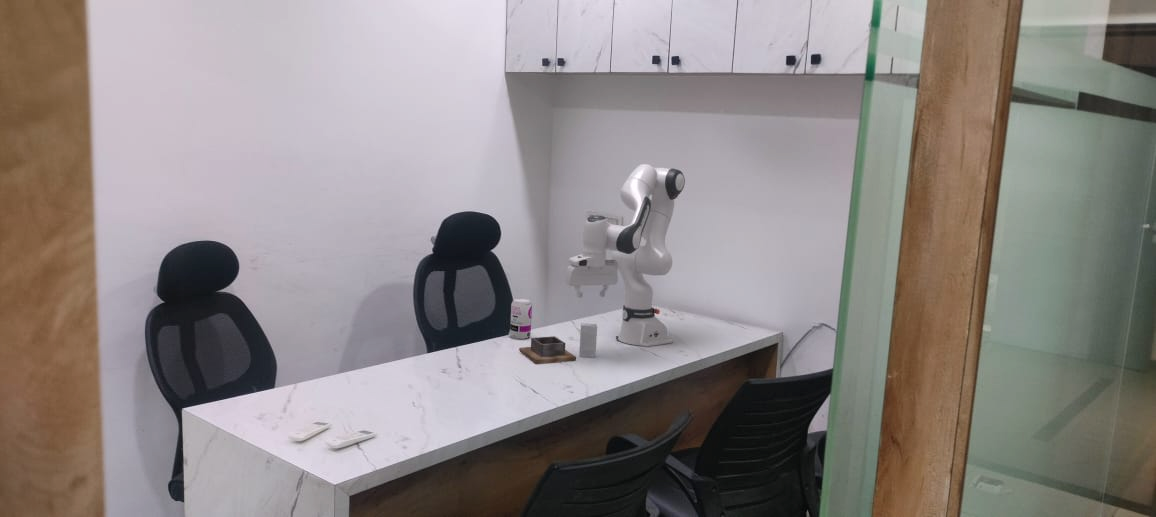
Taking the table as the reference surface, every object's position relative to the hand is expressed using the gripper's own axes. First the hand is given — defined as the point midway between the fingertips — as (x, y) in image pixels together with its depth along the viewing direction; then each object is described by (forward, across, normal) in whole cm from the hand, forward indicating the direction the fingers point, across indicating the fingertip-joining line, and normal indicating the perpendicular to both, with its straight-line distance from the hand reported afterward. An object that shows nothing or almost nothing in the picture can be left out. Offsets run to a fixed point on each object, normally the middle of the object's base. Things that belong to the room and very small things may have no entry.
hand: (590, 296), depth 293 cm
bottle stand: (+23, +15, -3) cm, 27 cm away
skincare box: (+23, 0, 0) cm, 23 cm away
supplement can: (+23, +15, -30) cm, 41 cm away
